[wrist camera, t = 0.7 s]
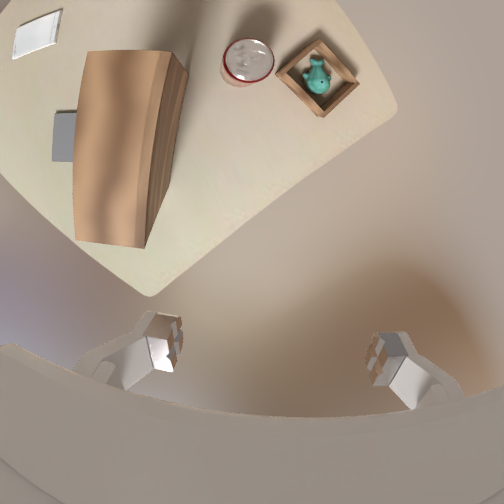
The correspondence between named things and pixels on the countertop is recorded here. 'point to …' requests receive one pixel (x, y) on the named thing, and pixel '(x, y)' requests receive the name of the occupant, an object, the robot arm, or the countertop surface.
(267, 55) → the soda can
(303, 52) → the walnut frame
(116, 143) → the walnut shelf
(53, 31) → the hard drive
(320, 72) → the whale figurine
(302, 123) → the countertop surface
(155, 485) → the robot arm
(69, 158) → the slate coaster
